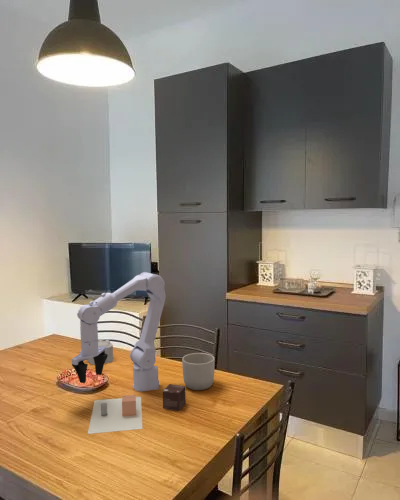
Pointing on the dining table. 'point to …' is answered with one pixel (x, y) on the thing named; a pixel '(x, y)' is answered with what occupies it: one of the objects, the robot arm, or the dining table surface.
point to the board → (113, 417)
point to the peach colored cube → (129, 405)
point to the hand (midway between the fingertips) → (90, 378)
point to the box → (174, 397)
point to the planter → (198, 370)
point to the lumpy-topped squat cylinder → (109, 352)
